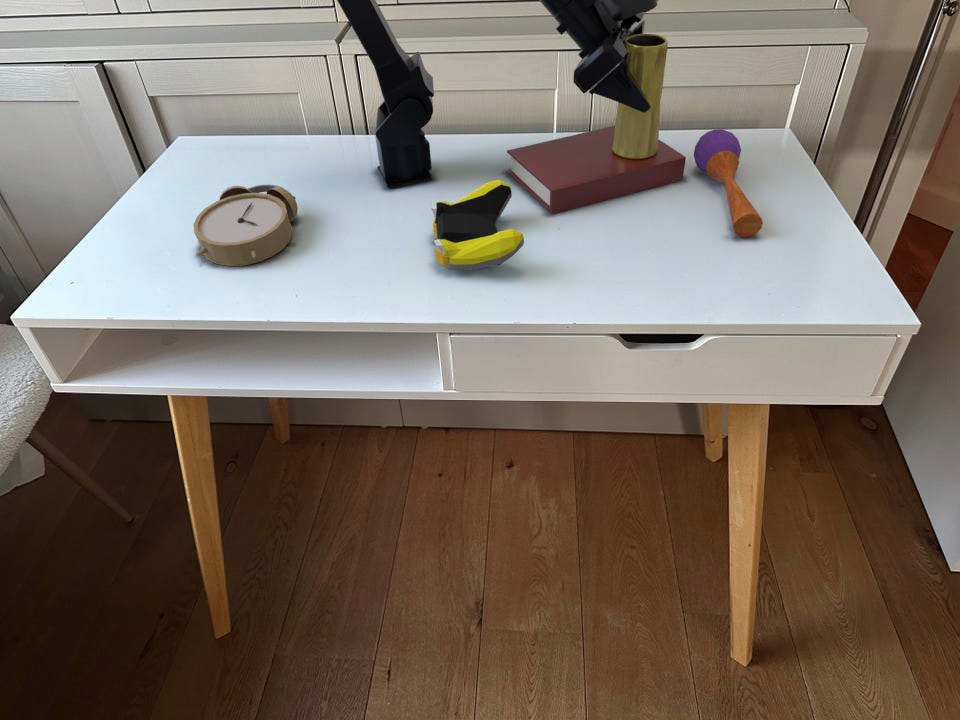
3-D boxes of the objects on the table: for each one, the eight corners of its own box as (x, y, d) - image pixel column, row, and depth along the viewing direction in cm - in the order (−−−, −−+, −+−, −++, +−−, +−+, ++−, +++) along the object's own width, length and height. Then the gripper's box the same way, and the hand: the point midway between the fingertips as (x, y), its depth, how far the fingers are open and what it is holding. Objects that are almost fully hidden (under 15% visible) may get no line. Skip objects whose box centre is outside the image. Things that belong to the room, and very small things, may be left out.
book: (551, 214, 92) (552, 190, 90) (507, 172, 101) (506, 150, 99) (682, 179, 97) (686, 157, 95) (629, 143, 107) (631, 121, 104)
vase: (647, 163, 94) (660, 50, 85) (604, 154, 97) (612, 44, 87) (664, 145, 98) (678, 35, 89) (622, 137, 100) (632, 29, 91)
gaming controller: (510, 213, 92) (432, 220, 92) (509, 174, 89) (428, 180, 88) (526, 279, 81) (437, 287, 80) (526, 237, 77) (433, 244, 77)
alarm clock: (176, 245, 84) (222, 167, 93) (192, 275, 88) (235, 197, 97) (266, 249, 82) (304, 169, 92) (279, 280, 86) (314, 200, 96)
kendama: (721, 209, 83) (689, 126, 97) (721, 250, 87) (690, 164, 101) (775, 199, 82) (735, 117, 96) (773, 241, 86) (734, 156, 100)
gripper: (608, -33, 76) (699, 80, 80) (634, -69, 89) (711, 29, 94) (535, 41, 83) (622, 141, 87) (569, -3, 96) (643, 86, 101)
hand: (652, 96), depth 92 cm, fingers open, 9 cm apart
